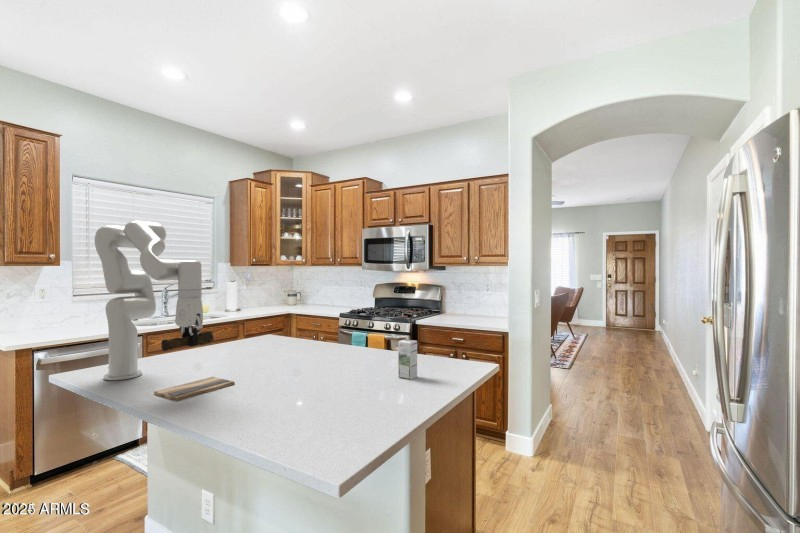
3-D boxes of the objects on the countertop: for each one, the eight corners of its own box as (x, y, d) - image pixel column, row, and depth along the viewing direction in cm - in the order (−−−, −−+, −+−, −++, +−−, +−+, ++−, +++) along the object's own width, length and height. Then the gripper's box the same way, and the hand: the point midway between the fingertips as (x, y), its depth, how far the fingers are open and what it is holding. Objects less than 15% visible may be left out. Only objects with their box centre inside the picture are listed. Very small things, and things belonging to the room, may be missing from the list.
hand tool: (166, 351, 138) (166, 338, 138) (160, 350, 140) (160, 337, 140) (217, 343, 154) (217, 330, 154) (211, 342, 156) (211, 330, 156)
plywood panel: (154, 394, 139) (154, 390, 139) (212, 379, 158) (212, 376, 158) (175, 400, 132) (175, 396, 132) (234, 384, 151) (234, 380, 151)
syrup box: (417, 376, 162) (417, 340, 162) (410, 380, 157) (410, 342, 157) (405, 374, 165) (405, 338, 165) (397, 377, 160) (397, 341, 160)
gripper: (166, 294, 148) (166, 345, 148) (193, 295, 140) (193, 349, 139) (186, 293, 154) (186, 341, 154) (213, 294, 146) (213, 345, 146)
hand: (190, 344), depth 147 cm, fingers closed on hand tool, 3 cm apart
